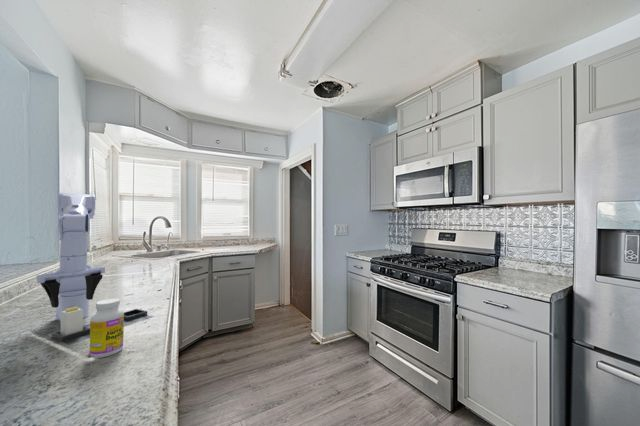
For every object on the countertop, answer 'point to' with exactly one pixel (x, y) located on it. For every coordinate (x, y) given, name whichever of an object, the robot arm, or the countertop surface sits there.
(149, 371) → the countertop surface
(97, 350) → the supplement bottle
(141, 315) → the panel
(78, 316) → the white rectangular block
